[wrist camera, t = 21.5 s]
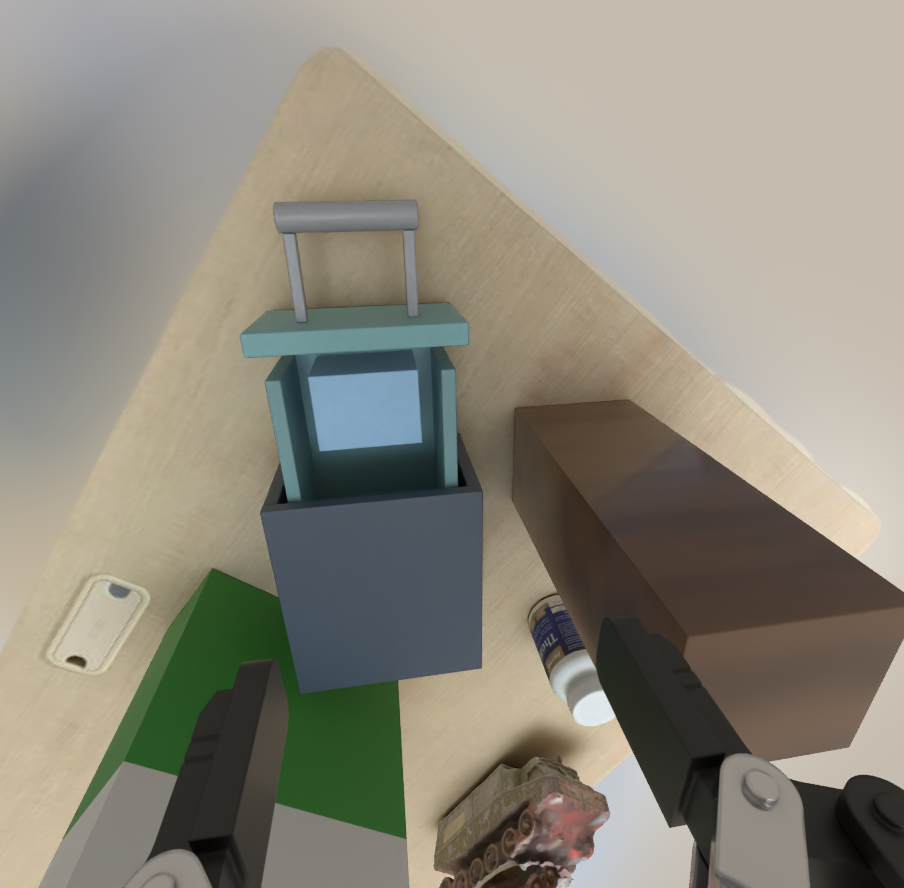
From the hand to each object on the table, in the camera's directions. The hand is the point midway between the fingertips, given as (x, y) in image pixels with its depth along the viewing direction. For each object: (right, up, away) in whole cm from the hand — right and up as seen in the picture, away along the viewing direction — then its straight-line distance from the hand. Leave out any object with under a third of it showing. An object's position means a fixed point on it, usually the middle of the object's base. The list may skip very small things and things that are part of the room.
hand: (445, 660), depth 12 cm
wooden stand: (+9, +5, +26) cm, 28 cm away
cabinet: (-5, -1, +27) cm, 27 cm away
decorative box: (+5, -32, +43) cm, 54 cm away
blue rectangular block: (-5, +9, +20) cm, 22 cm away
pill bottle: (+10, -11, +34) cm, 37 cm away
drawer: (-5, +11, +20) cm, 23 cm away
